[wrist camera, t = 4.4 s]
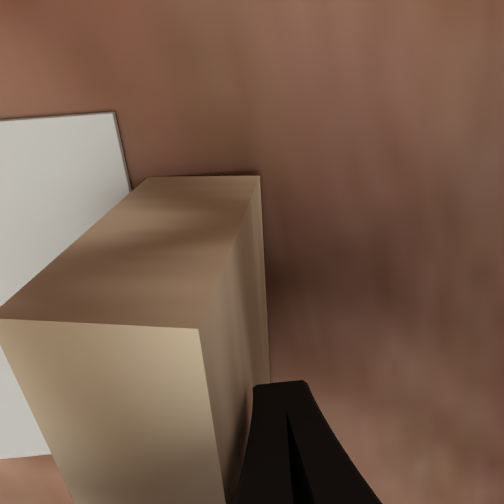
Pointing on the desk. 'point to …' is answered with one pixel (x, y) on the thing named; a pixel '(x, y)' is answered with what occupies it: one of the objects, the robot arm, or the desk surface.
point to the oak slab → (149, 344)
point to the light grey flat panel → (48, 222)
